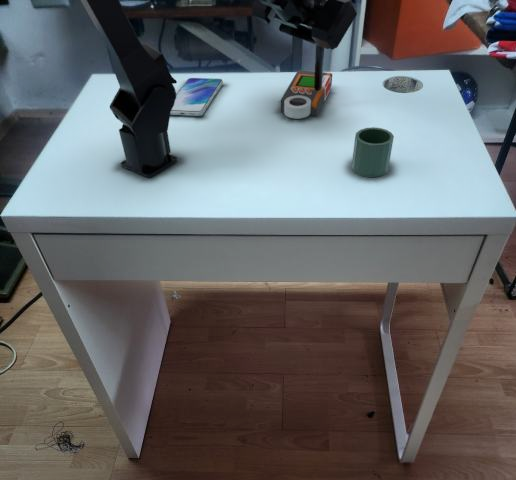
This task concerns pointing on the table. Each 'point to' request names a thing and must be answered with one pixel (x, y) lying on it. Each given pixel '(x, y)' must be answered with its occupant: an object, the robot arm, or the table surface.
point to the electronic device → (305, 95)
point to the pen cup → (372, 152)
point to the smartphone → (195, 96)
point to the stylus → (318, 68)
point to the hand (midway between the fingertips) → (326, 45)
